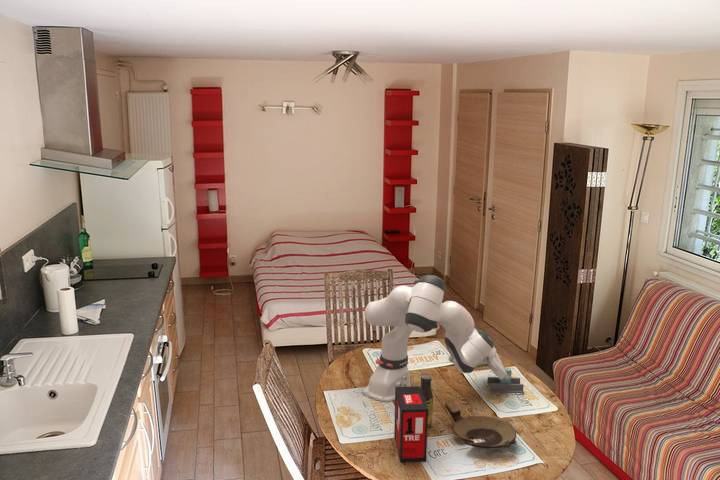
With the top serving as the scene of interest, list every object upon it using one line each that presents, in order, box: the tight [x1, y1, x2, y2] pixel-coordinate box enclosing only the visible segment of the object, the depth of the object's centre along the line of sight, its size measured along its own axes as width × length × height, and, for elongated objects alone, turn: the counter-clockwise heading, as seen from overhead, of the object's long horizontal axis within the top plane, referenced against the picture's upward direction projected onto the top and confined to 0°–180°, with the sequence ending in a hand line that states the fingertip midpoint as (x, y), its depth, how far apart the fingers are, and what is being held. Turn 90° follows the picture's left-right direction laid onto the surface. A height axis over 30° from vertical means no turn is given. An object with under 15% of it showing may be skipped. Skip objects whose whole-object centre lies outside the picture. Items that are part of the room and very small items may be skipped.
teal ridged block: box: [500, 367, 513, 384], centre depth 257 cm, size 4×3×8 cm
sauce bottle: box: [420, 374, 434, 429], centre depth 226 cm, size 6×6×20 cm
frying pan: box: [444, 402, 517, 450], centre depth 219 cm, size 22×30×8 cm
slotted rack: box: [486, 376, 525, 395], centre depth 257 cm, size 14×10×4 cm
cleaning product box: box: [393, 385, 428, 464], centre depth 210 cm, size 16×9×20 cm, turn 4°
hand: (507, 374), depth 256 cm, fingers open, 4 cm apart
